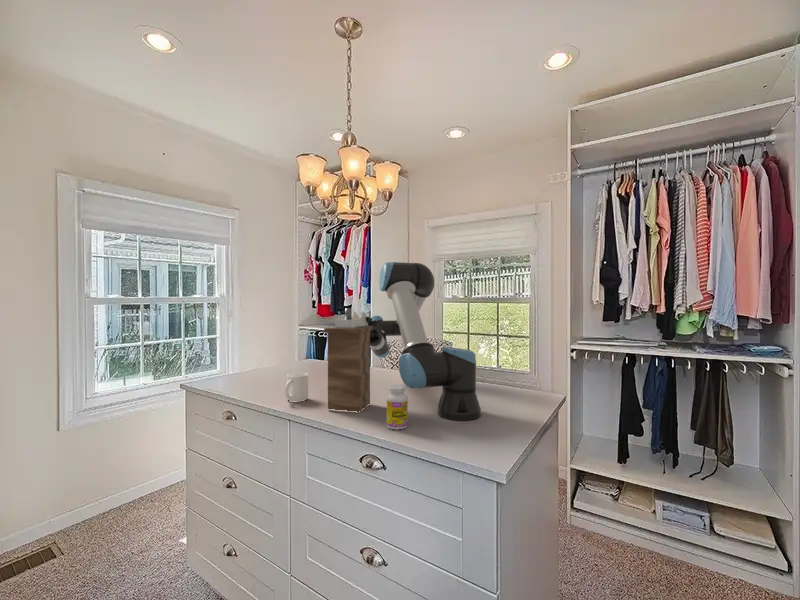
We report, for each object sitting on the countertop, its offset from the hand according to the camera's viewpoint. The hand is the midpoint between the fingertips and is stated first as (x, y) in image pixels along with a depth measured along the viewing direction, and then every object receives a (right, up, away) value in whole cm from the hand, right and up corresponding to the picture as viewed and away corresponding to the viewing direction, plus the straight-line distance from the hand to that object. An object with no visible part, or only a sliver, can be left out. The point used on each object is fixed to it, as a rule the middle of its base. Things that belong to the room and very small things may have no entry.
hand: (358, 314), depth 153 cm
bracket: (-1, -4, -3) cm, 5 cm away
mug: (-25, -34, 0) cm, 43 cm away
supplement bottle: (+16, -35, -30) cm, 49 cm away
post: (-2, -34, -9) cm, 36 cm away
